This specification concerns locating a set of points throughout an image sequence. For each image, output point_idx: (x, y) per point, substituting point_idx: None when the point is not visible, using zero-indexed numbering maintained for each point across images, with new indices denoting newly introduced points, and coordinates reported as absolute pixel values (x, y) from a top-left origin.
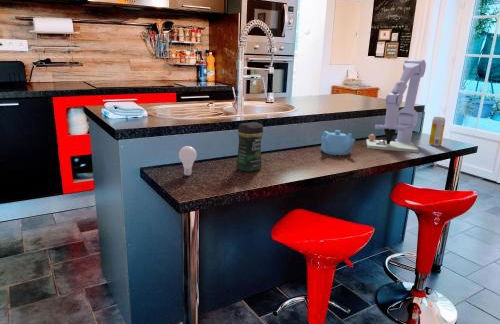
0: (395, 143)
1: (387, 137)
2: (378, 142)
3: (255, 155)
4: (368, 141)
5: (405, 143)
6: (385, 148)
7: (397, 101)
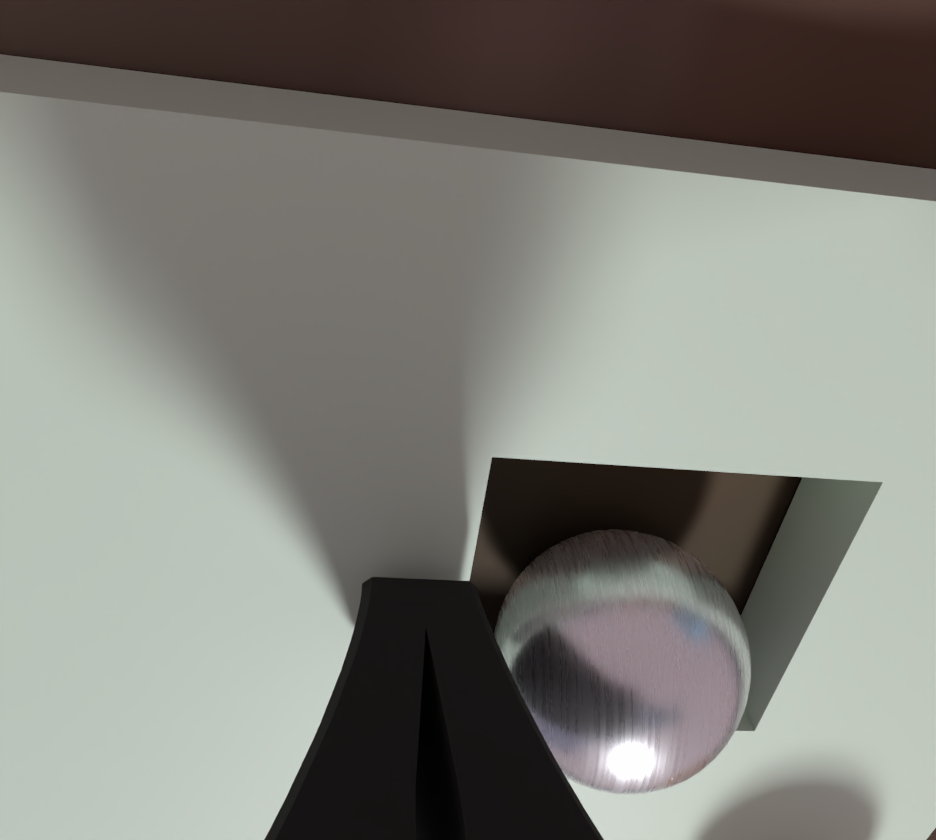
0: (119, 807)
1: (543, 827)
2: None
3: None
4: (925, 789)
5: None
6: (614, 141)
7: None
